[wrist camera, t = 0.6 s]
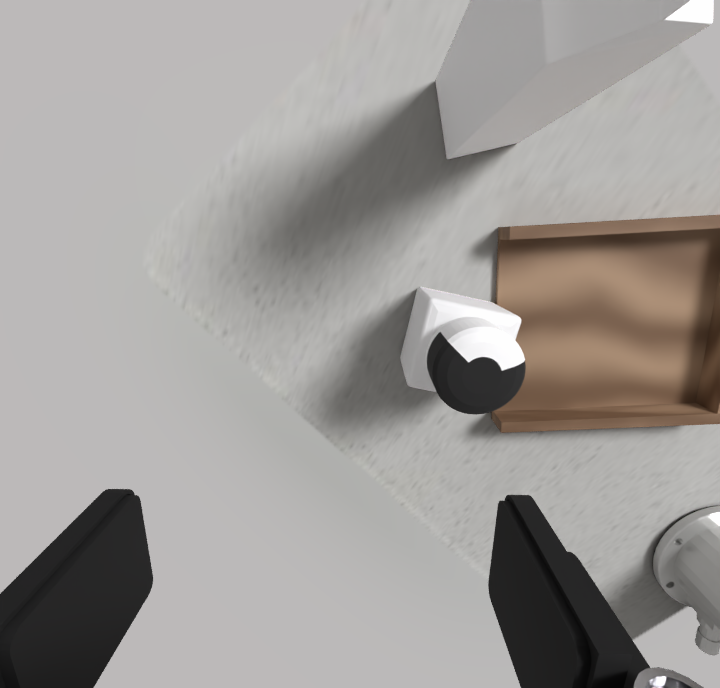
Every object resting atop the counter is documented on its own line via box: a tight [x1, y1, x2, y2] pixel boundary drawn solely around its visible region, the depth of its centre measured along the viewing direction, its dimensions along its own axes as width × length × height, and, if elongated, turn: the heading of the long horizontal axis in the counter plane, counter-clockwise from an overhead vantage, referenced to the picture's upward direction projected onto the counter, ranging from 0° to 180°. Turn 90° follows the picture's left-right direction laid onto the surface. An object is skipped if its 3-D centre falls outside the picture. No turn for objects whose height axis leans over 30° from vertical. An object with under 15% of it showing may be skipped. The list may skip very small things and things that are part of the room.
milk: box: [435, 0, 713, 159], centre depth 21 cm, size 6×6×22 cm
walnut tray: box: [491, 215, 720, 433], centre depth 35 cm, size 18×20×3 cm
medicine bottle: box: [400, 287, 526, 414], centre depth 31 cm, size 7×7×12 cm
